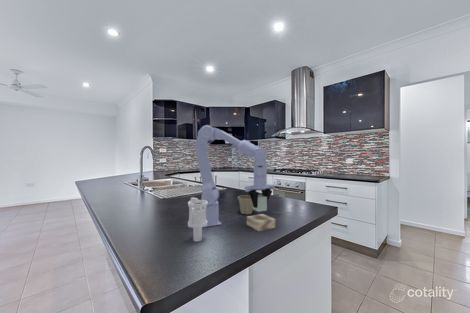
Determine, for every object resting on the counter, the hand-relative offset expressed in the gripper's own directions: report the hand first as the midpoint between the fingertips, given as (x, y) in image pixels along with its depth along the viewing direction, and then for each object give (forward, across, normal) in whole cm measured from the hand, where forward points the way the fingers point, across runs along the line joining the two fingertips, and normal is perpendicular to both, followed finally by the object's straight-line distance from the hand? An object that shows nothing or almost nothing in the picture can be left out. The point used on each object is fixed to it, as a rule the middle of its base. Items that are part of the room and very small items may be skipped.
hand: (259, 206), depth 88 cm
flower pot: (+9, +4, +20) cm, 22 cm away
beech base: (+9, 0, 0) cm, 9 cm away
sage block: (+2, 0, 0) cm, 2 cm away
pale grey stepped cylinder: (+9, -29, -3) cm, 30 cm away
